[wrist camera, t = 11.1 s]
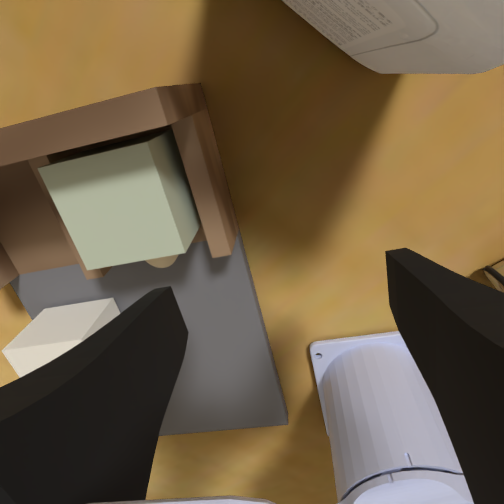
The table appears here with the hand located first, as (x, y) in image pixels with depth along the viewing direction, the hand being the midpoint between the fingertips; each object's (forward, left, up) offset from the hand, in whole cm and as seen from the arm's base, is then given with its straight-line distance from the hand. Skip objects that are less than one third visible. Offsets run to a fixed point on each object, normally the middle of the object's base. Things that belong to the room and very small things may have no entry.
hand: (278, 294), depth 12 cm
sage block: (+2, +7, -8) cm, 11 cm away
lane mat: (-9, +10, -9) cm, 17 cm away
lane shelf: (+3, +10, -9) cm, 14 cm away
